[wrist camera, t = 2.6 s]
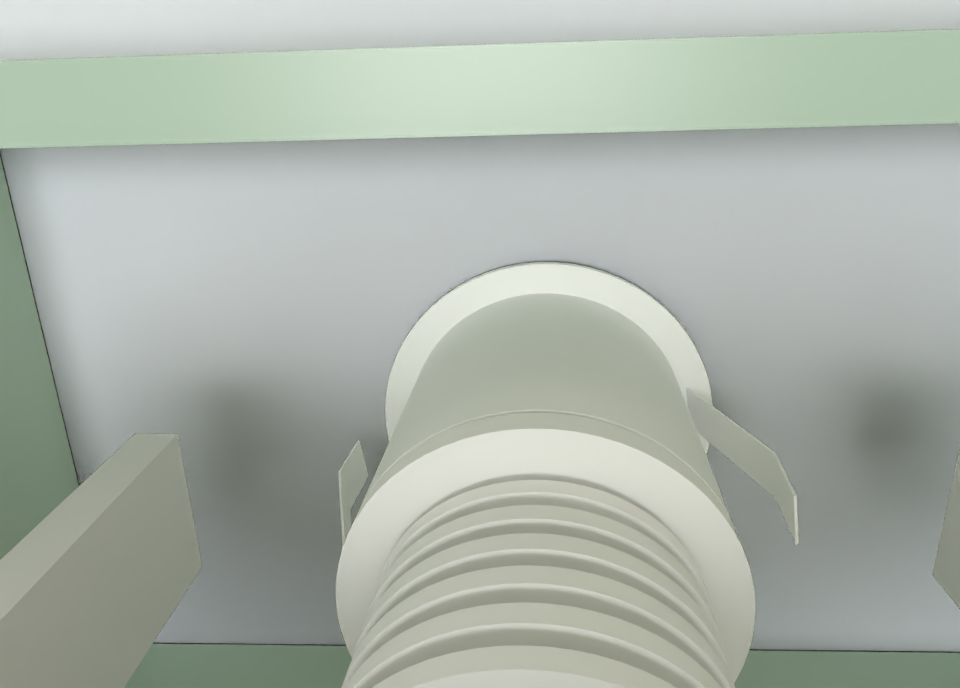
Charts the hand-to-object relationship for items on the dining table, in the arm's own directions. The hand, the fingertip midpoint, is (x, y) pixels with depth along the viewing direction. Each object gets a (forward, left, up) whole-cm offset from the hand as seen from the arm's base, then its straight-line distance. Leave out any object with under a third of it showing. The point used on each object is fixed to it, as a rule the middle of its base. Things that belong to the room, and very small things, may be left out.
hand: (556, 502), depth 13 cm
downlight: (0, 0, -4) cm, 4 cm away
